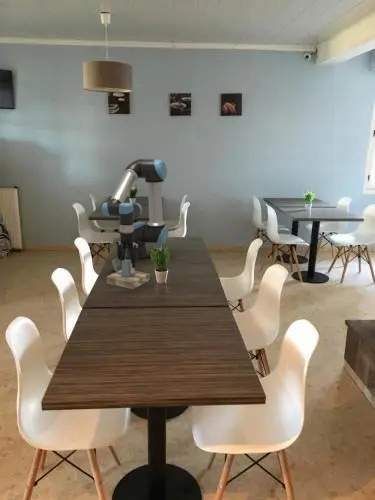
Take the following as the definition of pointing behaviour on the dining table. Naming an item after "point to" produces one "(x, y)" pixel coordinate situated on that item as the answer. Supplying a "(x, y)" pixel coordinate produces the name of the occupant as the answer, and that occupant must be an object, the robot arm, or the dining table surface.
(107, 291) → the dining table surface
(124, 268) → the keyed peg
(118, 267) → the decorative stone
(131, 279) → the hub block
